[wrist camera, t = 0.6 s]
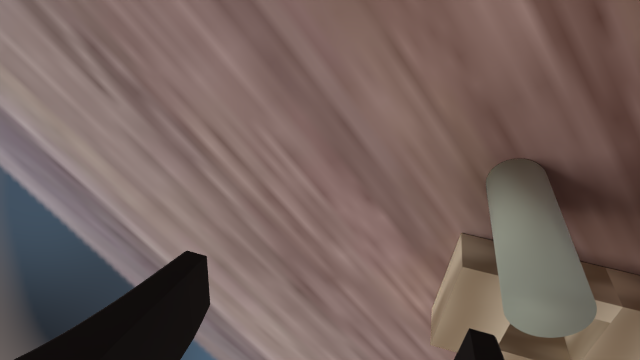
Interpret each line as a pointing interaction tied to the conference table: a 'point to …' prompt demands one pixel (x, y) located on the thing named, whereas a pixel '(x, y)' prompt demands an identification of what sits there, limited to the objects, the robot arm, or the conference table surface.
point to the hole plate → (521, 348)
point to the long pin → (536, 254)
